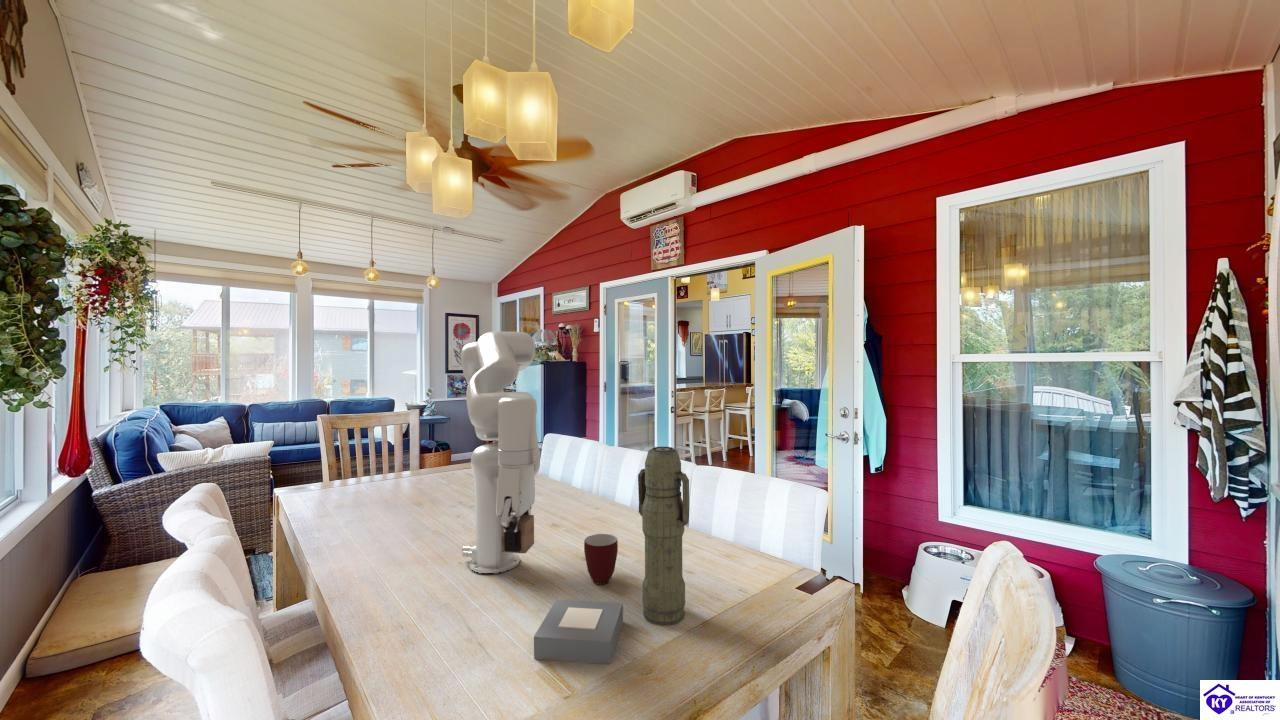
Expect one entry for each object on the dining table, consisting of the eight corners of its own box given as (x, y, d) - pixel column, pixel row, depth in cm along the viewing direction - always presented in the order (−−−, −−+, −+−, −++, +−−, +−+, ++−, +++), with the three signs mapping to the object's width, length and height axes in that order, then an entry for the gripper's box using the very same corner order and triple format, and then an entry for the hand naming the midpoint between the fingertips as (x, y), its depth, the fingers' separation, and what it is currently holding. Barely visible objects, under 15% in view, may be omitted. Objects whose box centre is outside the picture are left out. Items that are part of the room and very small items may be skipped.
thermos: (648, 598, 112) (647, 443, 111) (697, 611, 106) (696, 447, 106) (628, 617, 104) (627, 449, 104) (680, 632, 98) (679, 454, 98)
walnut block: (501, 552, 100) (501, 522, 100) (511, 542, 105) (511, 514, 105) (525, 553, 99) (525, 523, 99) (534, 543, 104) (533, 515, 104)
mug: (597, 567, 128) (597, 528, 128) (626, 572, 126) (626, 532, 125) (578, 585, 118) (578, 543, 118) (610, 590, 116) (609, 547, 116)
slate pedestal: (534, 658, 90) (533, 635, 90) (556, 617, 104) (556, 597, 104) (610, 664, 88) (610, 640, 88) (623, 622, 102) (622, 601, 102)
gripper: (515, 447, 110) (516, 529, 111) (481, 466, 94) (482, 562, 94) (548, 448, 109) (548, 530, 110) (519, 467, 93) (520, 564, 93)
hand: (518, 544), depth 102 cm, fingers closed on walnut block, 5 cm apart
